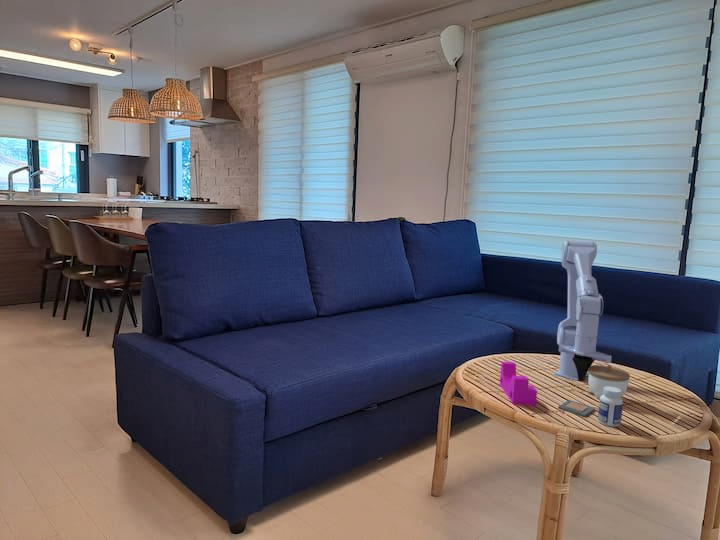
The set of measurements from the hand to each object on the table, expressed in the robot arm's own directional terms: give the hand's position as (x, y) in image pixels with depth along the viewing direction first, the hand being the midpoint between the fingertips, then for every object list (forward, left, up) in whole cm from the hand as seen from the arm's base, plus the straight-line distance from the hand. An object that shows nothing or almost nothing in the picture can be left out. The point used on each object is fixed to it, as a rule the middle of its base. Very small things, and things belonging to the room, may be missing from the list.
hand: (581, 380), depth 151 cm
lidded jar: (0, +7, -3) cm, 8 cm away
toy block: (+19, -11, -3) cm, 22 cm away
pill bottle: (+18, +14, -3) cm, 23 cm away
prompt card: (+16, +5, -3) cm, 17 cm away
